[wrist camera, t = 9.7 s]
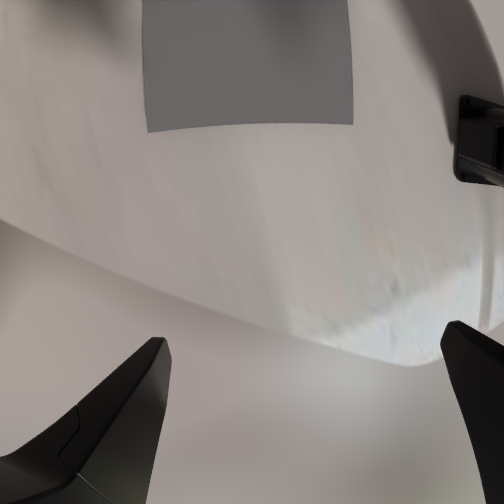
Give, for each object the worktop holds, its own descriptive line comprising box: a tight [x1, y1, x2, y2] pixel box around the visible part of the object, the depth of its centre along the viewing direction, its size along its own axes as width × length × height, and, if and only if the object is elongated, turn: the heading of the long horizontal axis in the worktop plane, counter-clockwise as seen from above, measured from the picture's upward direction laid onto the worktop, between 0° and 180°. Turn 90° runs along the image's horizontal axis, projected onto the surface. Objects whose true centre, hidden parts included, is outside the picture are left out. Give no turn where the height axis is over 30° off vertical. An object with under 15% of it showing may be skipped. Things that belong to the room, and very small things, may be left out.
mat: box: [143, 0, 353, 133], centre depth 14 cm, size 12×12×1 cm
